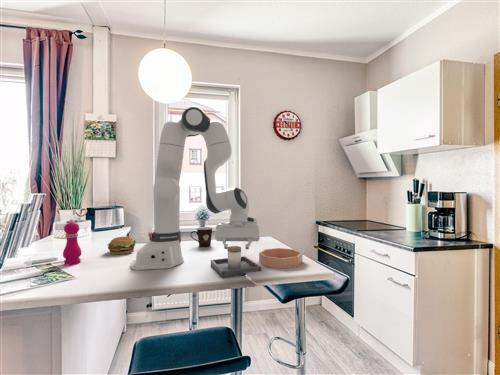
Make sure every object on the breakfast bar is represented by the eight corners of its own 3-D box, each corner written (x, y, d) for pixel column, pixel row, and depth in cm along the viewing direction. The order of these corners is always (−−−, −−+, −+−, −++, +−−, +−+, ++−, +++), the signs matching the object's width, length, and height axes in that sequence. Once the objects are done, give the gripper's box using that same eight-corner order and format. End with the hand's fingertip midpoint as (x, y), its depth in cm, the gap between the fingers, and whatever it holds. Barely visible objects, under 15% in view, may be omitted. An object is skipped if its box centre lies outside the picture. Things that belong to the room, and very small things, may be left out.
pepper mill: (59, 264, 131) (58, 220, 130) (73, 260, 138) (73, 218, 137) (71, 266, 128) (70, 220, 128) (85, 261, 135) (84, 218, 135)
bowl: (271, 272, 118) (271, 260, 118) (254, 261, 134) (254, 250, 134) (308, 267, 124) (308, 255, 124) (288, 257, 141) (288, 247, 141)
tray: (222, 278, 111) (222, 271, 111) (210, 265, 128) (210, 259, 128) (261, 273, 117) (260, 266, 117) (245, 261, 134) (245, 256, 134)
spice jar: (229, 269, 119) (229, 249, 119) (225, 265, 124) (225, 246, 124) (243, 267, 121) (243, 248, 121) (238, 264, 126) (238, 245, 126)
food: (103, 256, 145) (103, 240, 145) (111, 249, 159) (110, 235, 159) (133, 255, 148) (133, 239, 148) (138, 248, 162) (137, 234, 161)
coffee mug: (213, 244, 171) (213, 227, 170) (210, 247, 162) (210, 229, 162) (194, 244, 172) (194, 227, 172) (190, 247, 163) (189, 229, 163)
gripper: (215, 218, 137) (211, 244, 127) (259, 219, 135) (259, 244, 126) (217, 227, 141) (214, 252, 132) (260, 227, 140) (259, 252, 131)
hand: (236, 248), depth 129 cm, fingers open, 8 cm apart
